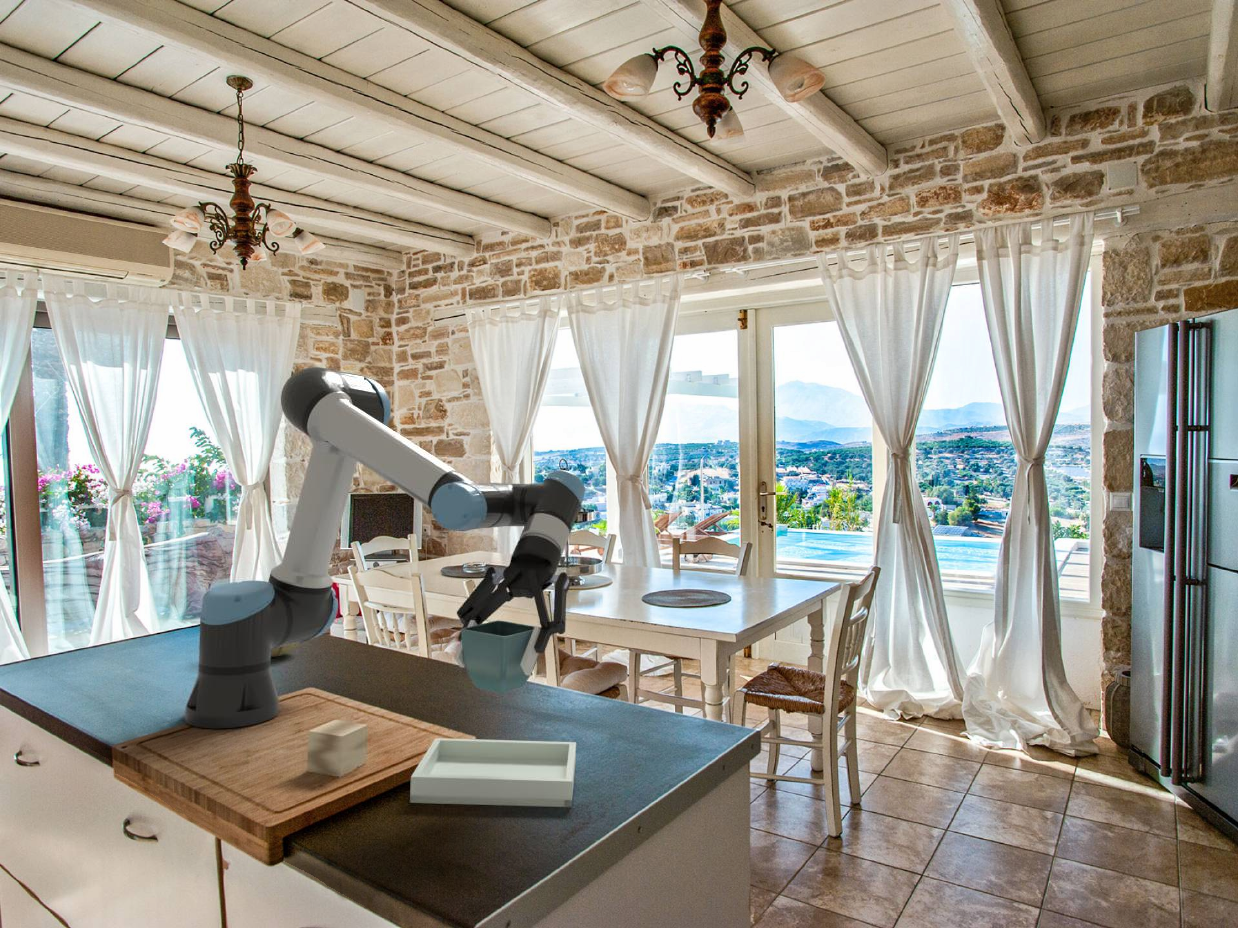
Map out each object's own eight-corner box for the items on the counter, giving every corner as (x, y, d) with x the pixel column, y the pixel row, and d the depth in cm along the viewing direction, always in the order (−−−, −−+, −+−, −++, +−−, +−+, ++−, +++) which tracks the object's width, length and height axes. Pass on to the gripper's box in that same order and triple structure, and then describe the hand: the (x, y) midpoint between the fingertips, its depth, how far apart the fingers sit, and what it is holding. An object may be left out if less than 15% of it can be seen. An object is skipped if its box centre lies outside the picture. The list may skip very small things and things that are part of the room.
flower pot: (503, 700, 111) (505, 636, 111) (456, 689, 116) (459, 628, 116) (541, 687, 118) (543, 627, 119) (496, 677, 123) (498, 619, 123)
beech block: (306, 771, 118) (308, 730, 118) (333, 758, 124) (335, 719, 124) (340, 777, 116) (342, 736, 116) (366, 763, 122) (367, 724, 122)
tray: (409, 802, 108) (410, 776, 108) (434, 760, 124) (435, 737, 124) (571, 807, 108) (572, 781, 108) (575, 764, 124) (576, 742, 124)
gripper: (610, 567, 128) (570, 688, 113) (485, 559, 135) (432, 672, 120) (600, 536, 123) (557, 659, 108) (471, 529, 130) (414, 643, 115)
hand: (491, 665), depth 114 cm, fingers closed on flower pot, 10 cm apart
